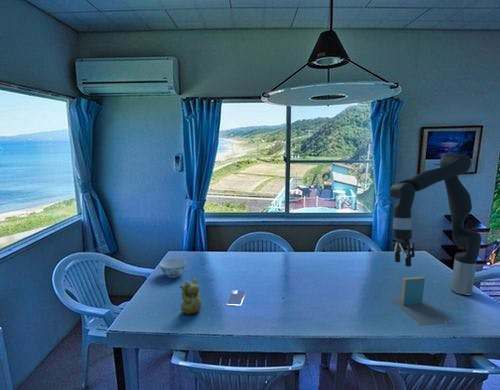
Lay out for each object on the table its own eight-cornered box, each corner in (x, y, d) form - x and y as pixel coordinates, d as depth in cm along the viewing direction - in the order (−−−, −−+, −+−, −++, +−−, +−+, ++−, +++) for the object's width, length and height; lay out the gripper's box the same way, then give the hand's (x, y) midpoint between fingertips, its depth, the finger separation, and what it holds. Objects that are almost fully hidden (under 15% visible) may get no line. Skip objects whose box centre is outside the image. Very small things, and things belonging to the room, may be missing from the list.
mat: (389, 301, 152) (389, 299, 152) (419, 298, 155) (419, 297, 154) (421, 327, 131) (421, 325, 130) (454, 323, 133) (454, 322, 133)
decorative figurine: (194, 304, 148) (193, 274, 145) (206, 310, 143) (205, 279, 140) (178, 312, 141) (177, 282, 138) (190, 319, 135) (189, 287, 133)
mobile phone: (225, 304, 147) (232, 289, 162) (225, 305, 147) (232, 291, 162) (241, 305, 146) (246, 290, 161) (241, 307, 146) (246, 292, 161)
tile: (400, 303, 148) (403, 278, 146) (419, 301, 150) (422, 276, 148) (403, 305, 146) (406, 279, 144) (422, 303, 148) (425, 278, 146)
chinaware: (189, 270, 187) (189, 258, 185) (182, 281, 172) (181, 268, 171) (165, 269, 188) (165, 257, 187) (156, 280, 174) (155, 267, 172)
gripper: (420, 229, 131) (420, 267, 131) (401, 226, 145) (402, 260, 145) (403, 229, 130) (403, 268, 130) (386, 226, 145) (386, 260, 145)
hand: (402, 264), depth 138 cm, fingers open, 8 cm apart
